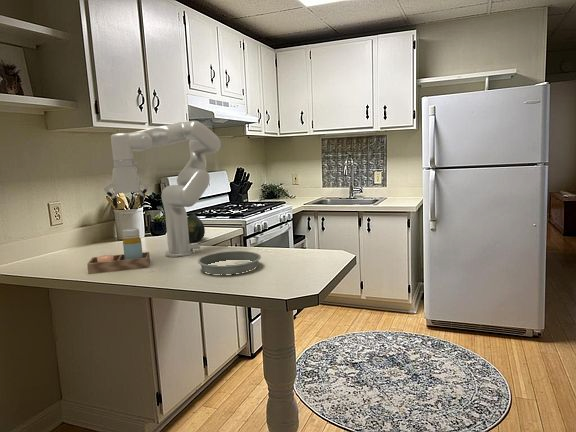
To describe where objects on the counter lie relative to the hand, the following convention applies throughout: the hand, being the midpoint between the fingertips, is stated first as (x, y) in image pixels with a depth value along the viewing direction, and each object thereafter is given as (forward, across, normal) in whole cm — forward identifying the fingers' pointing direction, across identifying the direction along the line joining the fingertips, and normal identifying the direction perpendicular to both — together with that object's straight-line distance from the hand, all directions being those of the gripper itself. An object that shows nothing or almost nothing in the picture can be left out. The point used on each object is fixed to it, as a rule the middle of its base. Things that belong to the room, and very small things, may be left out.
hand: (129, 206), depth 180 cm
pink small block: (+24, +11, +3) cm, 26 cm away
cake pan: (+26, -36, +21) cm, 49 cm away
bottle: (+24, 0, +3) cm, 24 cm away
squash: (+26, -26, -43) cm, 57 cm away
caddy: (+25, +6, +3) cm, 26 cm away
